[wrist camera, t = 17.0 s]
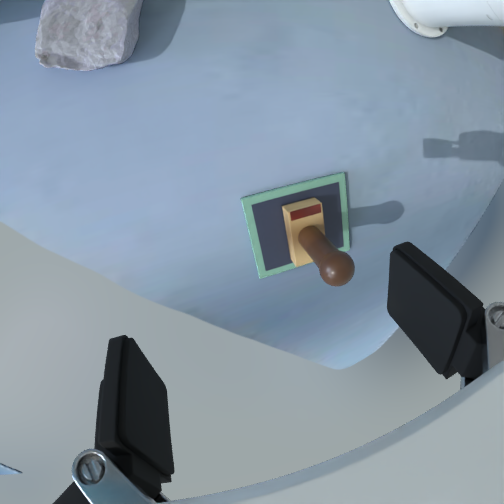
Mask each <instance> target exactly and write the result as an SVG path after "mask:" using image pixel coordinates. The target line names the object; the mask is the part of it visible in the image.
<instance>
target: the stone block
mask: <svg viewBox="0 0 504 504" xmlns="http://www.w3.org/2000/svg"><path fill="white" fill-rule="evenodd" d="M142 3H143V0H45V2H44V4H43V6H42V11H41V17H40V22H39V26H38V31H37V35H36V44H35V56H36V58H38V59H39V60H40V61H39V63H40V64H41V65H43V66H44V67H45V68H63V69H66V70H69V69H71V70H77V71H79V70H81V71H92V70H95V69H100V68H104V67H106V66H109V65H113V64H121V63H123V62H125V61H126V60H127V59H128V58H129V57H130V56H131V55H132V53H133V50H134V47H135V45H136V43H137V40H138V38H139V16H140V12H141V7H142Z"/></svg>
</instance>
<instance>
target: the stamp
mask: <svg viewBox="0 0 504 504" xmlns="http://www.w3.org/2000/svg"><path fill="white" fill-rule="evenodd" d="M281 207H282V213H283V219H284V224H285V230H286V236H287V242H288V248H289V254H290V259H291V260H292V261H293V263H294V264H295V266H296V267H299V266H302V265H305V264H308V263H311V262H314V263H315V264H316V265H317V266H318V268H319V271H320V275H321V277H322V279H323V280H324V281H325V282H326V283H327V284H329V285H331V286H342V285H345V284H346V283H348V282H349V281H350V280H351V279H352V277H353V275H354V270H355V266H354V262H353V260H352V258H351V257H350V256H349V255H348V254H347V253H345V252H343V251H339V250H338V249H337V248H336V246H335V245H334V244H333V243H332V242H331V241H330V240H329V239H328V238H327V237H326V236H325V229H324V219H323V210H322V203H321V202H320V201H319V200H317V199H316V198H315V197H310V198H306V199H303V200H299V201H295V202H291V203H288V204H284V205H281Z"/></svg>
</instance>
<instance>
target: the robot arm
mask: <svg viewBox="0 0 504 504" xmlns="http://www.w3.org/2000/svg"><path fill="white" fill-rule="evenodd" d="M389 1H390V4H391V5H392V7H393V9H394V11H395V13H396V14H397V16H398V17H399V18H400V20H401V21H402V22H403V23H404V24H405V25H406V26H407V27H408V28H409V29H410V30H412V31H413V32H415V33H416V34H419V35H421V36H424V37H439V36H441V35H443V34H444V33H445V32H446V30H447V29H448V27H452V26H504V0H389ZM387 310H388V313H389V314H390V316H391V317H392V318H393V319H394V321H395V322H396V323H397V324H398V325H399V327H400V328H401V329H402V330H403V331H404V332H405V334H406V335H407V336H408V337H409V338H410V340H411V341H412V342H413V343H414V344H415V346H416V347H417V348H418V349H419V351H420V352H421V353H422V354H423V356H424V357H425V358H426V359H427V361H428V362H429V363H430V364H431V366H432V367H433V368H434V369H435V371H436V372H437V373H438V374H443V376H444V377H445V378H446V379H448V378H449V377H451V376H452V375H454V374H455V373H457V372H458V373H459V374H460V375H461V385H460V391H458V392H457V393H455V394H454V395H452V396H451V397H449V398H448V399H446V400H445V401H443V402H441V403H440V404H438V405H437V406H435V407H434V408H432V409H430V410H429V411H427V412H425V413H424V414H422V415H420V416H418V417H417V418H415V419H413V420H411V421H410V422H408V423H406V424H404V425H402V426H401V427H399V428H397V429H395V430H393V431H391V432H390V433H387V434H385V435H383V436H381V437H379V438H377V439H375V440H373V441H371V442H369V443H367V444H365V445H363V446H360V447H359V448H356V449H354V450H351V451H349V452H347V453H344V454H342V455H340V456H338V457H335V458H332V459H330V460H327V461H325V462H322V463H320V464H317V465H314V466H311V467H309V468H306V469H303V470H300V471H297V472H294V473H291V474H288V475H285V476H282V477H279V478H275V479H272V480H268V481H265V482H261V483H257V484H253V485H250V486H246V487H241V488H237V489H233V490H228V491H224V492H219V493H214V494H209V495H204V496H199V497H193V498H187V499H180V500H174V501H171V500H170V499H169V498H167V497H166V496H165V495H164V494H163V493H162V492H161V491H162V489H161V483H167V482H171V474H173V473H174V462H173V455H172V445H171V436H170V424H169V413H168V401H167V400H168V399H167V389H166V386H165V384H164V383H163V381H162V380H161V378H160V377H159V376H158V374H157V373H156V372H155V370H154V368H153V367H152V366H151V364H150V363H149V361H148V360H147V358H146V357H145V355H144V354H143V352H142V351H141V350H140V348H139V347H138V345H137V344H136V342H135V340H134V339H133V338H128V337H127V336H126V335H122V336H119V337H115V338H111V339H110V340H109V344H108V351H107V357H106V364H105V371H104V379H103V380H102V381H101V384H100V390H99V399H98V409H97V419H96V432H95V449H87V450H84V451H83V452H81V453H80V454H79V455H78V456H77V457H76V458H75V460H74V462H73V465H72V476H73V479H74V482H73V483H72V484H71V485H70V486H69V487H68V488H67V489H66V490H65V491H64V493H62V495H61V496H60V497H59V498H58V499H57V500H56V501H55V502H54V503H53V504H504V303H502V302H495V303H492V304H490V305H489V306H488V307H487V308H486V309H484V308H483V303H482V302H481V301H480V300H479V299H478V298H477V297H476V296H475V295H473V294H472V293H471V292H470V291H469V290H468V289H466V288H465V287H464V286H463V285H462V284H461V283H459V282H458V281H457V280H456V279H455V278H454V277H453V276H451V275H450V274H449V273H447V271H445V270H444V269H443V268H442V267H441V266H439V265H438V264H437V263H436V262H434V261H433V260H432V259H431V258H429V257H428V256H427V255H426V254H424V253H423V252H422V251H421V250H419V249H418V248H417V247H416V246H414V245H413V244H412V243H410V242H404V243H402V244H399V245H396V246H395V247H394V248H393V251H392V252H391V253H390V268H389V286H388V300H387Z"/></svg>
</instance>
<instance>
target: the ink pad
mask: <svg viewBox="0 0 504 504" xmlns="http://www.w3.org/2000/svg"><path fill="white" fill-rule="evenodd" d="M310 197H315V198H316V199H317V200H319V201H320V202H321V203H322V210H323V219H324V229H325V236H326V237H327V238H328V239H329V240H330V241H331V242H332V243H333V244H334V245H335V246H336V248H337V249H338V250H339V251H343V252H346V251H349V250H350V246H349V226H348V210H347V196H346V184H345V173H343V172H341V173H337V174H332V175H328V176H324V177H320V178H316V179H312V180H308V181H304V182H300V183H296V184H292V185H288V186H284V187H280V188H276V189H273V190H269V191H265V192H261V193H258V194H254V195H250V196H247V197H243V198H241V202H242V206H243V210H244V215H245V219H246V223H247V227H248V232H249V236H250V240H251V244H252V249H253V253H254V257H255V261H256V266H257V270H258V274H259V278H260V279H261V278H265V277H268V276H271V275H274V274H277V273H281V272H284V271H287V270H290V269H293V268H296V266H295V264H294V263H293V261H292V260H291V259H290V254H289V248H288V242H287V236H286V230H285V224H284V219H283V213H282V207H281V205H284V204H288V203H291V202H295V201H299V200H303V199H306V198H310ZM311 263H312V262H311ZM308 264H309V263H308ZM305 265H306V264H305ZM302 266H303V265H302ZM299 267H300V266H299Z"/></svg>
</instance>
